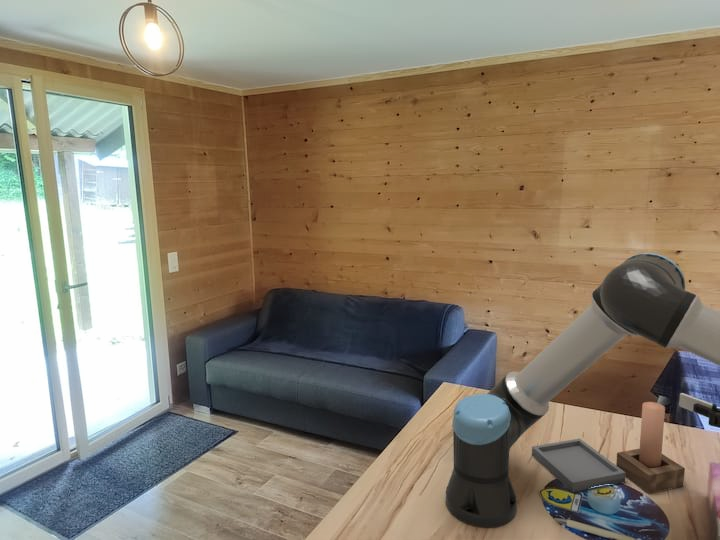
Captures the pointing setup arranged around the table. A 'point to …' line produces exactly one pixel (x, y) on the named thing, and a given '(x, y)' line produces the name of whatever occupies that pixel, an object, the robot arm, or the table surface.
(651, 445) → the dowel
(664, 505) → the table surface
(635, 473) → the socket block
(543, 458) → the tray
